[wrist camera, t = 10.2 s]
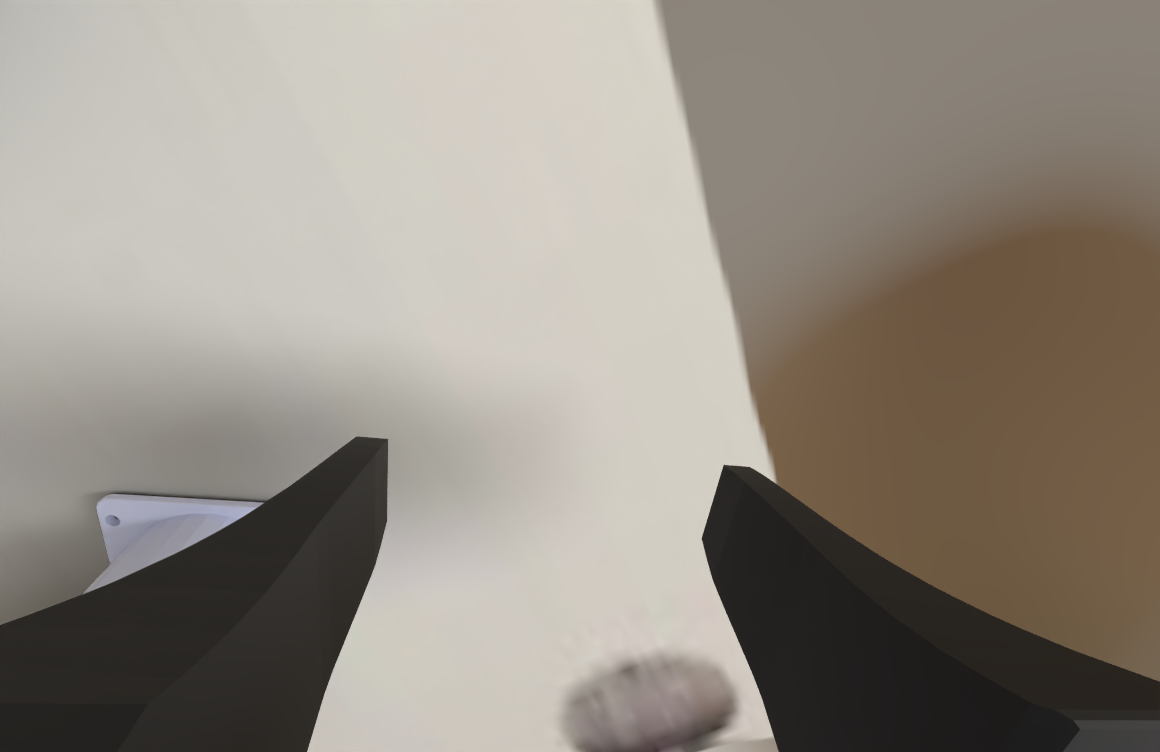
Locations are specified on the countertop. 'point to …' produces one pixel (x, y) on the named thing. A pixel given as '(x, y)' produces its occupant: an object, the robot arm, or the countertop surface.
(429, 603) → the countertop surface
